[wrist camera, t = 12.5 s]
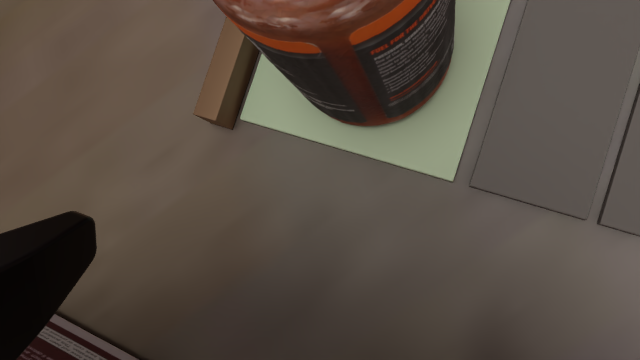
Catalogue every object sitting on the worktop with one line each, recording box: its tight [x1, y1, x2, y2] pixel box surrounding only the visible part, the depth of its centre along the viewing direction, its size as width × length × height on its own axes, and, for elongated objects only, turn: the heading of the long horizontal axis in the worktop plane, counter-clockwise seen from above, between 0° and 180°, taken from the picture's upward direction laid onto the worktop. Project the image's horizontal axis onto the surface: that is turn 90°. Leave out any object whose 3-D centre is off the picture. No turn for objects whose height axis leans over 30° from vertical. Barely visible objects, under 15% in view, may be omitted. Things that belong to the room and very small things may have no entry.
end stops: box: [193, 17, 259, 129], centre depth 15 cm, size 28×9×2 cm, turn 71°
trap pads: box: [470, 0, 640, 236], centre depth 16 cm, size 8×8×1 cm
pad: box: [240, 0, 511, 182], centre depth 18 cm, size 9×8×1 cm
